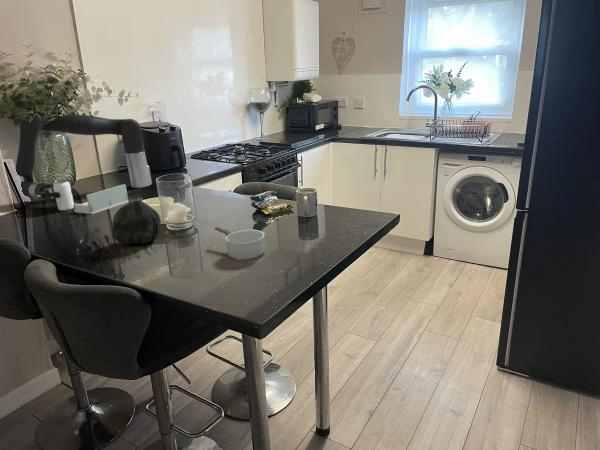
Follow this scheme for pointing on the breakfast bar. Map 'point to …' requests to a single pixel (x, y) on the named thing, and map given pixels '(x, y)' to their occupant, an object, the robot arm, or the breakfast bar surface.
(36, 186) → the robot arm
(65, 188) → the can
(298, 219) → the breakfast bar surface
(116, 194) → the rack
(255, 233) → the saucepan
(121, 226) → the squash
